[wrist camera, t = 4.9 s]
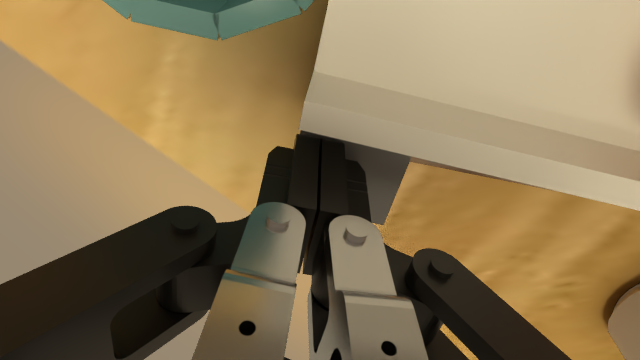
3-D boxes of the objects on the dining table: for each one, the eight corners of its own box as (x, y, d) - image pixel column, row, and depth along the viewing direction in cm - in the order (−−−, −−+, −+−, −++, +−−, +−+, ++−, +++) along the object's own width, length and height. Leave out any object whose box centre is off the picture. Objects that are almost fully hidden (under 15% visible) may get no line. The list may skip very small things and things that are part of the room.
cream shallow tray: (1024, -54, 9) (1265, -36, 7) (672, 274, 16) (730, 345, 13) (380, -236, 8) (387, -292, 6) (289, 186, 15) (274, 242, 12)
